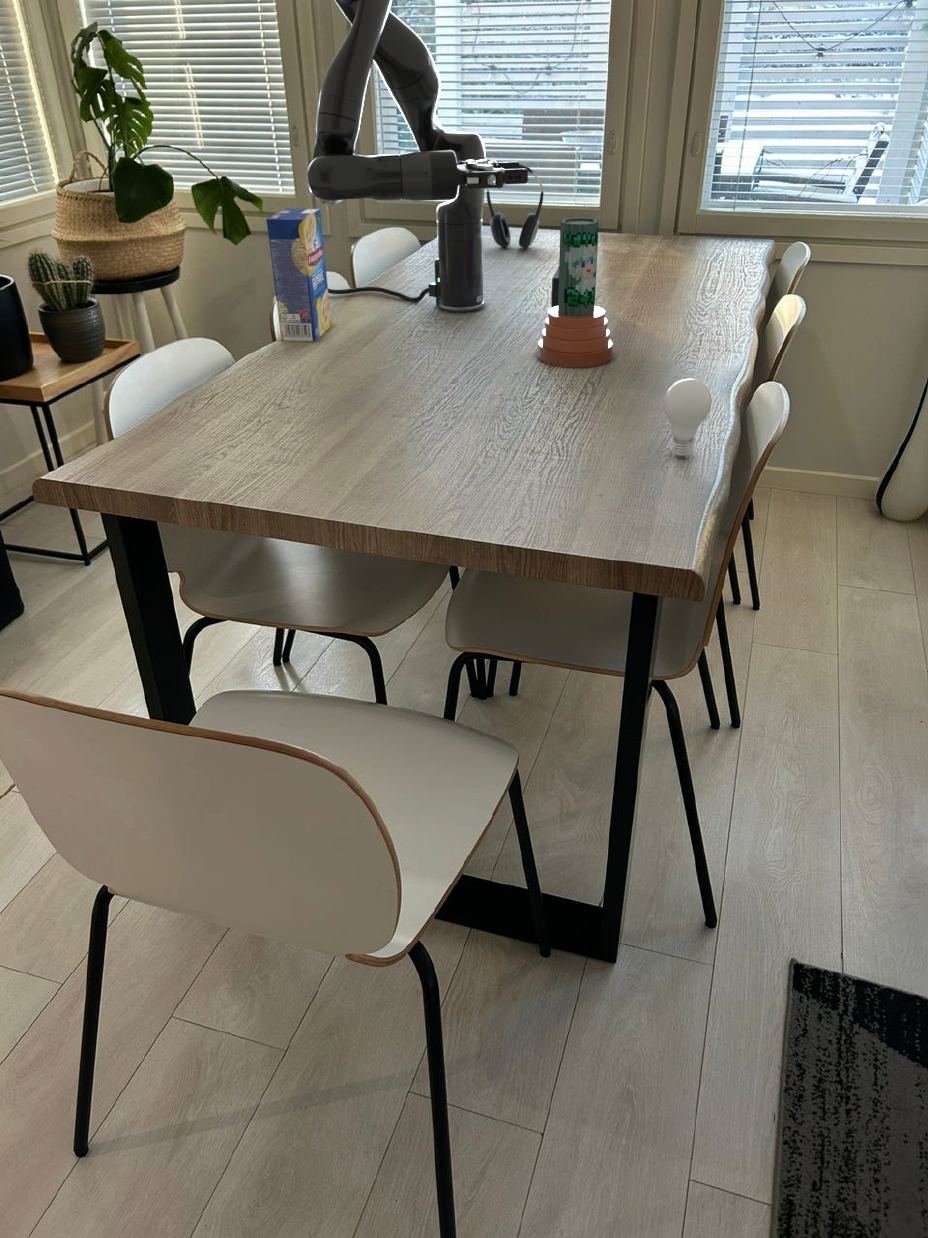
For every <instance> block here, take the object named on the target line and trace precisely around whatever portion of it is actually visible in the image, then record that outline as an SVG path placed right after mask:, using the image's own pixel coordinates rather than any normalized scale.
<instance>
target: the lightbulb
mask: <svg viewBox="0 0 928 1238" xmlns="http://www.w3.org/2000/svg"><path fill="white" fill-rule="evenodd" d="M663 398H664V399H663V409H664V413H665V415H666V417H667V419H668V421H669V423H670V424H671V431H672V435H673V443H672V444H673V445H672V453H673V454H674V455H675V456H677V457H678V458H686V457H689V456H691V455H692V454H693V446H694V440H695V436H696V435H697V434H698V433H697V432H698V429H699V427H700V426H701V424H702V423H703V421H705V420H706V418H707V417H708V415H709V413H710V411H711V408H712V405H713V404H712V403H713V400H712V395H711V392H710V389H709V388H708V386H706V384H705V383H703V382H702V381H700V380H698V379H695V378H683V379H680V380H678V381H676V382H674V383H672V385H671V386H670V387H668V389H667V390H666V393H665V394H664V397H663Z"/></svg>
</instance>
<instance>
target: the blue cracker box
mask: <svg viewBox="0 0 928 1238" xmlns="http://www.w3.org/2000/svg"><path fill="white" fill-rule="evenodd" d="M322 223H323V222H322V212H321V208H284V209H283V210H281V211H278V212H277V213H275V214H273V215H271V216H270V217H268V218H266V226H267V234H268V245H269V251H270V260H271V267H272V268H271V269H272V276H273V283H274V292H275V300H276V307H277V308H276V309H277V316H278V324H279V331H280V340H281V341H295V342H296V341H298V342H316V341H317V340H319V338H320V337H321V336H322V335H324V334H325V332H326V331H328V330H329V328H331V327H332V316H331V306H330V295H329V293H328V289H329V286H328V276H327V265H326V254H325V243H324V234H323V233H324V232H323V224H322Z"/></svg>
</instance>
